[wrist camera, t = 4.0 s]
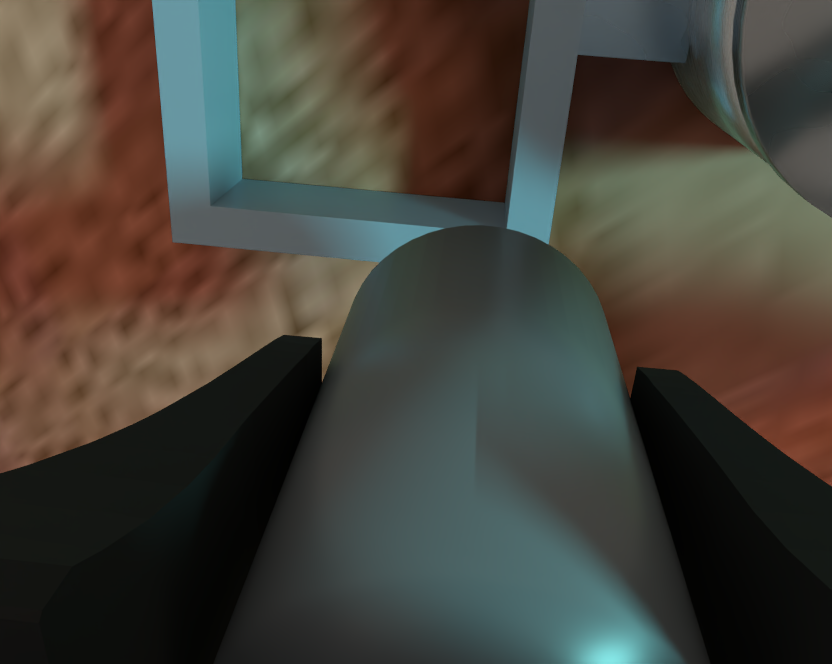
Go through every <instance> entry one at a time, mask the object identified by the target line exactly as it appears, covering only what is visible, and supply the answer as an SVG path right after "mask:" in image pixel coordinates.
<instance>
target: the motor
mask: <svg viewBox="0 0 832 664" xmlns="http://www.w3.org/2000/svg"><path fill="white" fill-rule="evenodd" d="M578 55H587V56H600V57H612V58H625V59H637V60H650V61H662V62H671V65H672V67H673V70H674V72H675V74H676V77H677V79H678V81H679V83H680V85H681V86H682V88H683V90H684V91H685V93H686V95H687V96H688V97H689V99H690V100H691V101H692V102H693V104H694V105H695V106H696V107H697V108H698V110H699V111H700V112H702V113H703V114H704V115H705V116H706V117H707V118H708V119H709V120H710V121H712V122H713V123H714V124H715V125H717V126H718V127H719V128H721V129H722V130H723V131H725V132H726V133H728V134H729V135H730V136H732V137H733V138H734V139H736V140H737V141H738V142H740V143H741V144H742V145H744V146H745V147H746V148H748V149H749V150H750V151H752V152H753V153H754V154H756V155H757V156H758V157H760V158H761V159H763V160H764V161H765V162H767V163H768V164H769V165H770V166H771V167H772V168H773V170H774V171H775V172H776V173H777V175H778V176H779V177H780V178H781V179H782V180H783V181H784V182H785V183H787V184H788V185H789V186H790V187H791V188H792V189H793V190H794V191H795V192H797V193H798V194H799V195H800V196H801V197H803V198H804V199H805V200H807V201H808V202H809V203H811V204H812V205H813V206H815V207H816V208H818V209H820V210H821V211H823V212H824V213H826V214H827V215H829V216H830V217H832V0H586V4H585V10H584V17H583V23H582V30H581V36H580V43H579V49H578Z"/></svg>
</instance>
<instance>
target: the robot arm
mask: <svg viewBox="0 0 832 664" xmlns="http://www.w3.org/2000/svg"><path fill="white" fill-rule="evenodd" d="M321 384H322V338H312V337H301V336H290V335H283V336H281V337H279V338H277V339H275V340H274V341H272V342H271V343H269V344H268V345H266V346H265V347H263V348H261V349H260V350H258V351H257V352H255V353H254V354H252V355H251V356H249V357H248V358H246V359H245V360H243V361H242V362H240V363H239V364H237V365H236V366H234V367H233V368H231V369H230V370H228V371H227V372H225V373H223V374H222V375H220V376H219V377H217V378H216V379H214V380H213V381H211V382H209V383H208V384H206V385H204V386H203V387H201V388H199V389H197V390H196V391H194V392H192V393H190V394H189V395H187V396H185V397H183V398H182V399H180V400H178V401H176V402H175V403H173V404H171V405H169V406H168V407H166V408H164V409H162V410H161V411H159V412H157V413H155V414H153V415H151V416H149V417H147V418H145V419H143V420H141V421H139V422H137V423H135V424H133V425H130V426H128V427H126V428H124V429H121V430H119V431H117V432H115V433H112V434H110V435H108V436H106V437H103V438H101V439H98V440H96V441H94V442H91V443H89V444H86V445H83V446H80V447H77V448H75V449H72V450H69V451H66V452H63V453H61V454H58V455H55V456H52V457H50V458H47V459H44V460H41V461H38V462H36V463H33V464H30V465H27V466H24V467H21V468H17V469H14V470H11V471H7V472H4V473H0V664H213V663H214V661H215V658H216V655H217V653H218V650H219V648H220V645H221V642H222V640H223V637H224V635H225V632H226V630H227V627H228V624H229V622H230V619H231V617H232V614H233V611H234V609H235V606H236V604H237V601H238V599H239V596H240V593H241V591H242V588H243V586H244V583H245V580H246V578H247V575H248V573H249V570H250V568H251V565H252V562H253V560H254V557H255V555H256V552H257V549H258V547H259V544H260V542H261V539H262V537H263V534H264V531H265V529H266V526H267V524H268V521H269V518H270V516H271V513H272V511H273V508H274V506H275V503H276V500H277V498H278V495H279V493H280V490H281V488H282V485H283V482H284V480H285V477H286V475H287V472H288V469H289V467H290V464H291V462H292V459H293V457H294V454H295V451H296V449H297V446H298V444H299V441H300V438H301V436H302V433H303V431H304V428H305V426H306V423H307V420H308V418H309V415H310V413H311V410H312V407H313V405H314V402H315V400H316V397H317V395H318V392H319V389H320V387H321ZM630 400H631V403H632V407H633V410H634V413H635V417H636V420H637V423H638V426H639V430H640V433H641V436H642V440H643V443H644V446H645V450H646V453H647V456H648V459H649V463H650V466H651V469H652V473H653V476H654V479H655V482H656V486H657V489H658V492H659V496H660V499H661V502H662V506H663V509H664V512H665V515H666V519H667V522H668V525H669V529H670V532H671V535H672V539H673V542H674V545H675V548H676V552H677V555H678V558H679V562H680V565H681V568H682V571H683V575H684V578H685V581H686V585H687V588H688V591H689V595H690V598H691V601H692V604H693V608H694V611H695V614H696V618H697V621H698V624H699V628H700V631H701V634H702V637H703V641H704V644H705V647H706V651H707V654H708V657H709V660H710V664H832V486H830V485H828V484H827V483H825V482H824V481H822V480H821V479H819V478H818V477H817V476H815V475H814V474H812V473H811V472H810V471H808V470H807V469H805V468H804V467H802V466H801V465H800V464H798V463H797V462H795V461H794V460H793V459H791V458H790V457H788V456H787V455H786V454H784V453H783V452H782V451H780V450H779V449H778V448H776V447H775V446H774V445H772V444H771V443H770V442H768V441H767V440H766V439H764V438H763V437H762V436H760V435H759V434H758V433H757V432H755V431H754V430H753V429H752V428H750V427H749V426H748V425H747V424H745V423H744V422H743V421H742V420H740V419H739V418H738V417H737V416H735V415H734V414H733V413H732V412H730V411H729V410H728V409H727V408H726V407H724V406H723V405H722V404H721V403H719V402H718V401H717V400H716V399H715V398H713V397H712V396H711V395H710V394H708V393H707V392H706V391H705V390H704V389H702V388H701V387H700V386H699V385H697V384H696V383H695V382H693V381H692V380H691V379H689V378H688V377H687V376H685V375H684V374H682V373H681V372H679V371H677V370H666V369H655V368H644V367H637V371H636V375H635V380H634V384H633V389H632V394H631V398H630Z"/></svg>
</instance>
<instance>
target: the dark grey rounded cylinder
mask: <svg viewBox="0 0 832 664" xmlns="http://www.w3.org/2000/svg"><path fill="white" fill-rule="evenodd" d="M213 664H710V660H709V657H708V654H707V651H706V647H705V644H704V641H703V637H702V634H701V631H700V628H699V624H698V621H697V618H696V614H695V611H694V608H693V604H692V601H691V598H690V595H689V591H688V588H687V585H686V581H685V578H684V575H683V571H682V568H681V565H680V562H679V558H678V555H677V552H676V548H675V545H674V542H673V539H672V535H671V532H670V529H669V525H668V522H667V519H666V515H665V512H664V509H663V506H662V502H661V499H660V496H659V492H658V489H657V486H656V482H655V479H654V476H653V473H652V469H651V466H650V463H649V459H648V456H647V453H646V450H645V446H644V443H643V440H642V436H641V433H640V430H639V426H638V423H637V420H636V417H635V413H634V410H633V407H632V403H631V400H630V397H629V394H628V390H627V387H626V384H625V380H624V377H623V374H622V370H621V367H620V364H619V361H618V357H617V354H616V351H615V347H614V344H613V341H612V337H611V334H610V331H609V328H608V324H607V321H606V318H605V314H604V311H603V309H602V306H601V303H600V301H599V298H598V296H597V294H596V293H595V291H594V289H593V287H592V286H591V284H590V282H589V281H588V280H587V278H586V277H585V276H584V274H583V273H582V272H581V271H580V269H579V268H578V267H577V266H576V265H575V264H573V263H572V262H571V261H570V260H569V259H568V258H567V257H566V256H565V255H563V254H562V253H560V252H559V251H558V250H556V249H555V248H554V247H552V246H550V245H548V244H546V243H545V242H543V241H541V240H539V239H537V238H535V237H532V236H530V235H527V234H524V233H522V232H519V231H515V230H511V229H506V228H502V227H494V226H485V225H464V226H457V227H450V228H444V229H441V230H437V231H433V232H430V233H427V234H424V235H422V236H420V237H417V238H415V239H412V240H411V241H409V242H407V243H405V244H404V245H402V246H400V247H398V248H397V249H396V250H394V251H393V252H392V253H390V254H389V255H388V256H386V257H385V258H384V259H383V260H382V261H381V262H380V263H379V264H378V265H377V266H376V267H375V268H374V269H373V270H372V271H371V273H370V274H369V275H368V277H367V278H366V279H365V281H364V282H363V284H362V285H361V287H360V289H359V291H358V293H357V295H356V297H355V299H354V302H353V304H352V307H351V309H350V312H349V314H348V317H347V320H346V322H345V325H344V327H343V330H342V333H341V335H340V338H339V340H338V343H337V345H336V348H335V351H334V353H333V356H332V358H331V361H330V364H329V366H328V369H327V371H326V374H325V376H324V379H323V382H322V384H321V387H320V389H319V392H318V395H317V397H316V400H315V402H314V405H313V407H312V410H311V413H310V415H309V418H308V420H307V423H306V426H305V428H304V431H303V433H302V436H301V438H300V441H299V444H298V446H297V449H296V451H295V454H294V457H293V459H292V462H291V464H290V467H289V469H288V472H287V475H286V477H285V480H284V482H283V485H282V488H281V490H280V493H279V495H278V498H277V500H276V503H275V506H274V508H273V511H272V513H271V516H270V518H269V521H268V524H267V526H266V529H265V531H264V534H263V537H262V539H261V542H260V544H259V547H258V549H257V552H256V555H255V557H254V560H253V562H252V565H251V568H250V570H249V573H248V575H247V578H246V580H245V583H244V586H243V588H242V591H241V593H240V596H239V599H238V601H237V604H236V606H235V609H234V611H233V614H232V617H231V619H230V622H229V624H228V627H227V630H226V632H225V635H224V637H223V640H222V642H221V645H220V648H219V650H218V653H217V655H216V658H215V661H214V663H213Z"/></svg>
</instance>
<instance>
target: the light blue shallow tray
mask: <svg viewBox="0 0 832 664" xmlns="http://www.w3.org/2000/svg"><path fill="white" fill-rule="evenodd" d="M585 4H586V0H530V2H529V10H528V18H527V27H526V35H525V43H524V51H523V59H522V67H521V75H520V84H519V92H518V100H517V108H516V116H515V124H514V132H513V141H512V149H511V157H510V165H509V173H508V181H507V189H506V198H505V203H502V202H491V201H480V200H469V199H458V198H447V197H436V196H425V195H414V194H404V193H393V192H382V191H371V190H360V189H349V188H338V187H327V186H316V185H305V184H294V183H283V182H272V181H261V180H250V179H242V159H241V134H240V109H239V83H238V58H237V33H236V7H235V0H152V6H153V18H154V30H155V42H156V53H157V65H158V77H159V88H160V100H161V112H162V123H163V135H164V147H165V159H166V170H167V182H168V194H169V205H170V217H171V229H172V241H173V242H176V243H186V244H197V245H207V246H218V247H228V248H238V249H249V250H259V251H269V252H280V253H290V254H300V255H311V256H321V257H331V258H342V259H352V260H362V261H373V262H381V261H382V260H383V259H384V258H385V257H386V256H388V255H389V254H390V253H392V252H393V251H394V250H396V249H397V248H398V247H400V246H402V245H404V244H405V243H407V242H409V241H411V240H412V239H415V238H417V237H420V236H422V235H424V234H427V233H430V232H433V231H437V230H441V229H444V228H450V227H457V226H464V225H485V226H494V227H502V228H506V229H511V230H515V231H519V232H522V233H524V234H527V235H530V236H532V237H535V238H537V239H539V240H541V241H543V242H545V243H546V244H549V238H550V231H551V225H552V218H553V212H554V205H555V199H556V192H557V186H558V179H559V173H560V166H561V160H562V153H563V147H564V140H565V134H566V127H567V121H568V114H569V108H570V101H571V95H572V88H573V82H574V75H575V69H576V62H577V56H578V49H579V43H580V36H581V30H582V23H583V17H584V10H585Z"/></svg>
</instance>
